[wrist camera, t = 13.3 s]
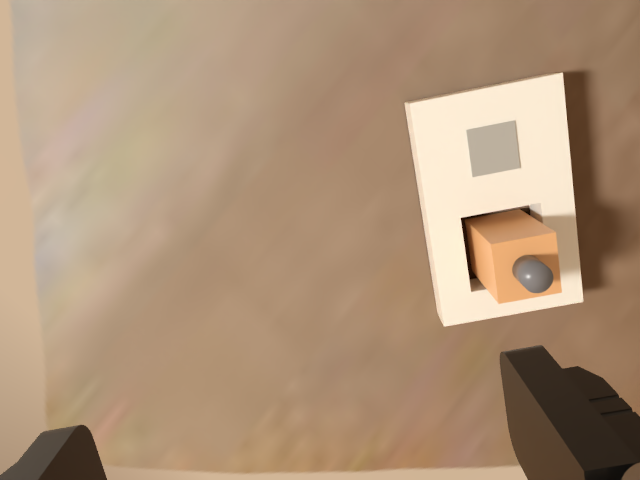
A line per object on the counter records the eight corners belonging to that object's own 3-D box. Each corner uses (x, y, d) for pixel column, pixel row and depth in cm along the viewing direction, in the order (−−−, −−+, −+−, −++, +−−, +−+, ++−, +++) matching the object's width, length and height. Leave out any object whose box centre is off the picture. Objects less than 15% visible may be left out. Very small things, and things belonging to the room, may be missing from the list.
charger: (464, 219, 43) (500, 253, 34) (519, 208, 43) (569, 240, 34) (471, 270, 44) (508, 316, 35) (525, 260, 44) (575, 304, 35)
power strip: (404, 102, 41) (409, 103, 38) (548, 73, 40) (563, 72, 38) (437, 313, 45) (444, 327, 42) (569, 290, 44) (583, 302, 42)
